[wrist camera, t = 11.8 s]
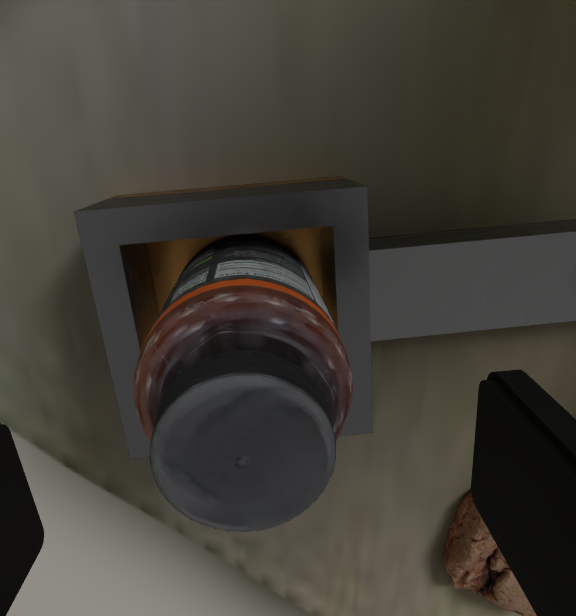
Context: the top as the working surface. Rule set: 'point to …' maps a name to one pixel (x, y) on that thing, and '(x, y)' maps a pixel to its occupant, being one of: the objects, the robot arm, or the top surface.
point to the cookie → (481, 561)
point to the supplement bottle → (243, 387)
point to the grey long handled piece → (321, 271)
